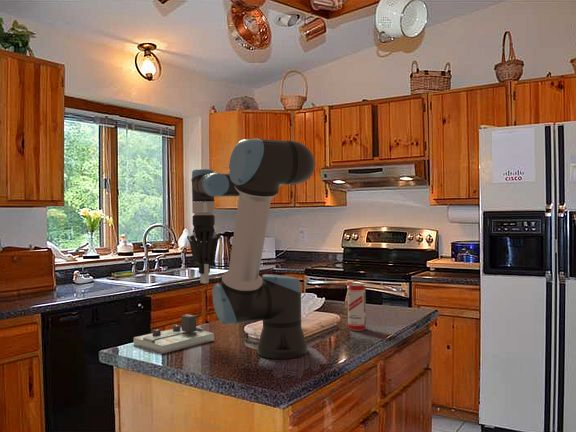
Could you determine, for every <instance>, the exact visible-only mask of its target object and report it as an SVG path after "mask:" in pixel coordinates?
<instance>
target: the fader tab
mask: <svg viewBox="0 0 576 432" xmlns="http://www.w3.org/2000/svg"><path fill="white" fill-rule="evenodd" d="M181 327H182V331H185V332H193V331H196V327H197V315H194V314H183V315H181Z"/></svg>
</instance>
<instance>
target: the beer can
mask: <svg viewBox="0 0 576 432" xmlns="http://www.w3.org/2000/svg"><path fill="white" fill-rule="evenodd" d="M348 285H349V286H348V288H347V328H348V329H349V330H350V331H354V332H361V331H362V332H363V331H364V330H365V329H366V326H367V324H366V323H367V322H366V321H367V318H366V312H367V311H366V306H367V305H366V304H367V302H366V288H365V286H364V284H363V283H353V282H352V283H349V284H348Z"/></svg>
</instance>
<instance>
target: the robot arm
mask: <svg viewBox="0 0 576 432" xmlns="http://www.w3.org/2000/svg"><path fill="white" fill-rule="evenodd" d="M315 168H316V159H315V157H314V154H313V152H312V151H311V150H310V149H309V148H308V146H306V145H305V144H303V143H301V142H299V141H295V140H280V139H279V140H278V139H263V138H258V137H256V138H251V139H250V138H246V139H245V138H244V139H241V140H239V141H238V143H237V144H235V146H234V147H233V150H232V152H231V154H230V158H229V164H228V169H229V171H228V173H221V172H214V170H213V169H211V168H198V169H193V170H192V172H191V179H190V181H191V195H192V196H191V199H192V201H191V202H192V204H191V205H192V207H191V208H192V209H191V210H192V214H193V216H192V226H193V229H192V233H190V235H189V234H188V235H187V236H186V239H187V241H188V242H189V246H190V251H191V256H192V260H193V263H195V264H197V265H198V273H199V275H200V276H199V277H200V281H199V283H200V284H209V283H210V279H209V278H210V276H209V275H210V273H211V265H212V264H213V262H215V260H216V254H217V249H218V242H219V240H220V237H221V234H220V233H217V232H216V231H215V228H214V227H215V225H216V223H215V220H216V219H215V215H214V213H215V211H216V210H215V197H216V198H217V197H238V202H237V203H238V204H237V210H236V214H235V216H236V217H235V222H234V230H233V237H232V245H231V252H230V259H229V265H228V266H229V267H228V270H227V271H225V272H223V274H222V276H221V283H219V282H217V283H215V284H214V285H213V287H212V293H211V294H212V303H213V308H214V311H215V314H216V317H217V319H218V320H219V321H220V322H221V324H224V325H231V324H234V325H237V324H243V323H250V322H257V321H262V320H263V328H261V332H260V335H259V339H258V340H259V342H257V346H256V347H257V354H258V356H260V357H262V358H267V359H273V360H274V359H275V360H279V359H280V360H287V359H295V358H299V357H304V356H305V355H306V354H308V351H309V350H308V343H307V341H306V337H305V333H304V331H303V328H302V327H303V326H302V285H301V280H300V279H298V278H296V277H295V276H290V275H289V276H288V275H281V274H280V275H279V274H269V273H268V274H267V273H265V274H262V276H260V275H259V274H260V270H261V269H260V268H261V264H262V263H261V262H262V257H263V250H264V244H265V239H266V234H267V233H266V232H267V226H268V223H269V217H270V215H269V214H270V209H271V202H272V199H273V198H275V197H276V196H277V195H278V194H279V189H280V187H282V186H285V185H290V186H295V185H296V186H297V185H299V184H302V183H305V182H307V181H308V180H309V179H311V177H312V176H313V174H314V172H315Z"/></svg>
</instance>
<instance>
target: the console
mask: <svg viewBox="0 0 576 432" xmlns="http://www.w3.org/2000/svg"><path fill="white" fill-rule="evenodd" d="M214 333H215V332H211V331H206V330H204V327H198V326H196V331H193V332H185V331H182V324H173V325H172V329H171V328H170V329H166V330H161V329H160V328H158V329H157V328H156V329H155V328H154V329H152V332H151V333H148V334H143V335H138V336H134V337H133V346H136V347H140V348H142V349H146V350H150V351H152V352H156V353H159V354H162V355H163V354H167V353H168V354H169V353H170V352H175V351H179V350H182V349H186V348H190V347H194V346H198V345H201V344H202V345H203V344H206V343H209V342H213V341H215V334H214Z"/></svg>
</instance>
